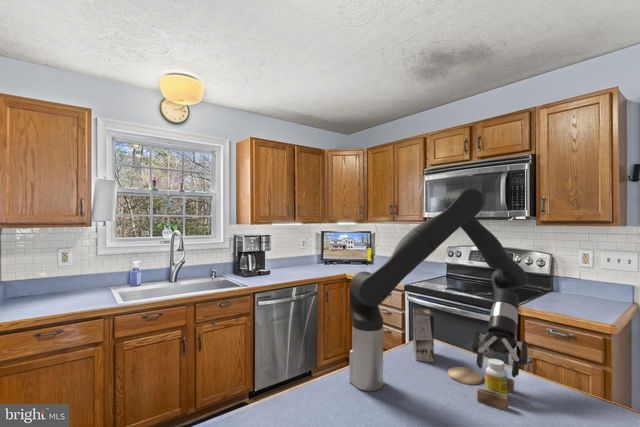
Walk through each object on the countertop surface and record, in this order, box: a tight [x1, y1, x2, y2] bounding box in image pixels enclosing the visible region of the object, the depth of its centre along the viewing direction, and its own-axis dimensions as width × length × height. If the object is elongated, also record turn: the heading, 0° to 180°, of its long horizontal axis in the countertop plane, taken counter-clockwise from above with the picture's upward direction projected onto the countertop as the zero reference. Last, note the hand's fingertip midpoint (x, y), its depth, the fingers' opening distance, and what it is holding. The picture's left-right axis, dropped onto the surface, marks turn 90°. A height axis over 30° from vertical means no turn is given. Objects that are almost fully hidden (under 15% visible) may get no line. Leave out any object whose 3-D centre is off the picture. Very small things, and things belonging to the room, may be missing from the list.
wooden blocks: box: [476, 377, 515, 412], centre depth 93 cm, size 7×13×3 cm, turn 142°
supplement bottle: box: [485, 358, 508, 396], centre depth 93 cm, size 5×5×10 cm
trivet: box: [447, 366, 483, 385], centre depth 104 cm, size 10×10×1 cm
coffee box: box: [412, 308, 435, 363], centre depth 120 cm, size 9×6×16 cm
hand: (496, 371), depth 94 cm, fingers open, 8 cm apart
